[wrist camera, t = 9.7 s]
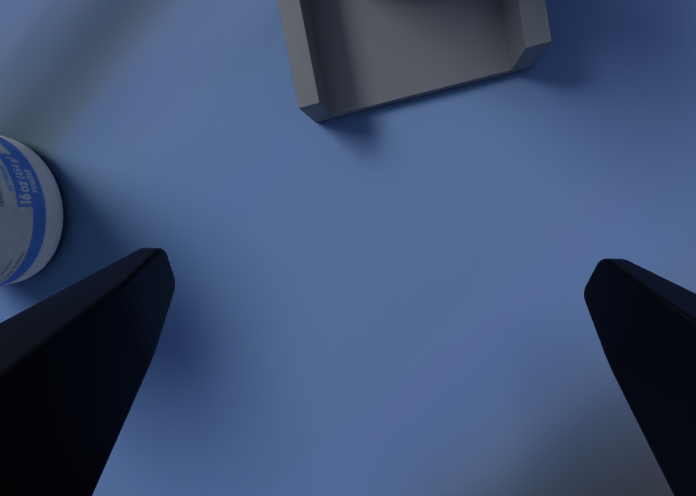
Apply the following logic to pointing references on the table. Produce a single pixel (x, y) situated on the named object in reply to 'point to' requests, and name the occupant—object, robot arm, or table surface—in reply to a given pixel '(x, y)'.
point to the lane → (404, 48)
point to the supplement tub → (26, 212)
